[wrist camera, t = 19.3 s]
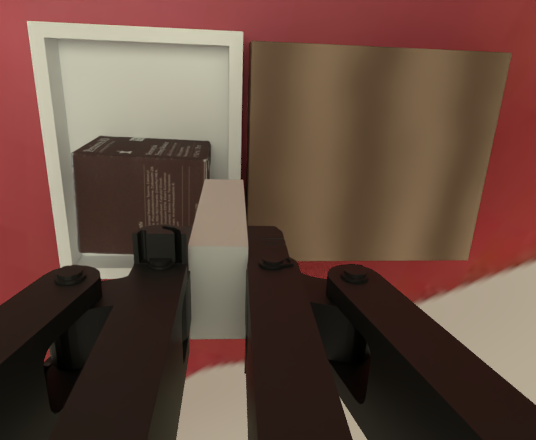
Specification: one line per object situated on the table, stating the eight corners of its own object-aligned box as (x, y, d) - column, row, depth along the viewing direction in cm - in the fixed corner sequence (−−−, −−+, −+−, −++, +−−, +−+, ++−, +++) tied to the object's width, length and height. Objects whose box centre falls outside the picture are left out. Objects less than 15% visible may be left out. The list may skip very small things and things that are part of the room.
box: (209, 159, 23) (68, 151, 23) (206, 259, 26) (77, 256, 25) (211, 139, 29) (99, 132, 28) (209, 222, 31) (103, 219, 30)
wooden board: (484, 53, 29) (512, 52, 26) (447, 244, 34) (467, 260, 31) (249, 43, 28) (252, 40, 25) (244, 244, 32) (246, 261, 30)
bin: (241, 34, 27) (243, 31, 25) (237, 262, 33) (238, 277, 30) (44, 24, 26) (26, 20, 24) (73, 263, 32) (61, 279, 29)
